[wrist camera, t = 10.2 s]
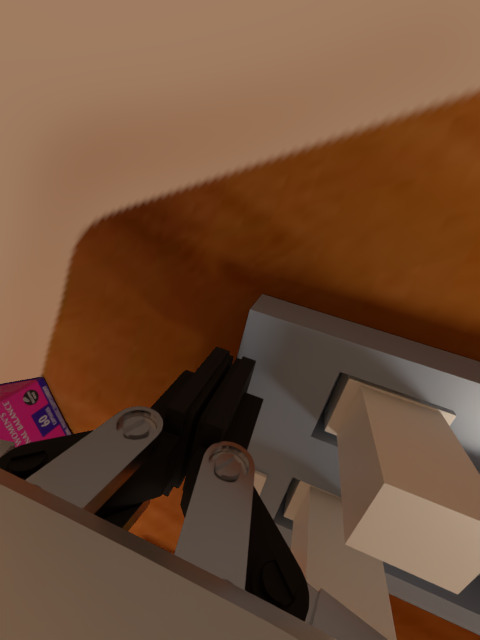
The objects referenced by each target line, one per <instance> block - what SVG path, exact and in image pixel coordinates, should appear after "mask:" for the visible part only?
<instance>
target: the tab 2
mask: <svg viewBox="0 0 480 640" xmlns="http://www.w3.org/2000/svg"><path fill="white" fill-rule="evenodd" d="M456 416H457V415H456V414H455V413H454V411H453V410H450V409H447V408H444V407H441V406H438V405H435V404H432V403H429V402H426V401H423V400H421V399H418V398H415V397H412V396H409V395H406V394H403V393H400V392H397V391H394V390H391V389H388V388H386V387H383V386H380V385H377V384H374V383H371V382H368V381H365V380H362V379H359V378H356V377H354V376H351V375H348V374H345V373H342V374H341V376H340V379H339V381H338V383H337V385H336V387H335V390H334V392H333V394H332V396H331V398H330V401H329V403H328V405H327V407H326V409H325V412H324V430H325V431H326V432H328V433H331V434H334V435H336V436H337V443H338V457H339V471H340V485H341V498H342V512H343V526H344V539H345V545H347V546H350V547H352V548H354V549H356V550H359V551H361V552H363V553H365V554H368V555H370V556H372V557H374V558H377V559H379V560H381V561H383V562H386V563H388V564H390V565H392V566H395V567H397V568H399V569H401V570H404V571H406V572H408V573H410V574H413V575H415V576H417V577H419V578H422V579H424V580H426V581H428V582H431V583H433V584H435V585H438V586H440V587H442V588H444V589H447V590H449V591H451V592H453V593H456V594H459V593H460V592H461V591H462V590H463V589H464V588H465V587H466V586H467V585H468V584H469V583H470V582H471V581H472V580H473V579H475V578H476V577H477V576H478V575H479V574H480V474H479V473H478V471H477V469H476V468H475V466H474V465H473V463H472V461H471V460H470V458H469V457H468V455H467V453H466V452H465V450H464V449H463V447H462V445H461V444H460V442H459V441H458V439H457V437H456V436H455V434H454V433H453V431H452V429H451V428H450V425H451V423H452V422H453V421H454V419H455V418H456Z"/></svg>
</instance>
